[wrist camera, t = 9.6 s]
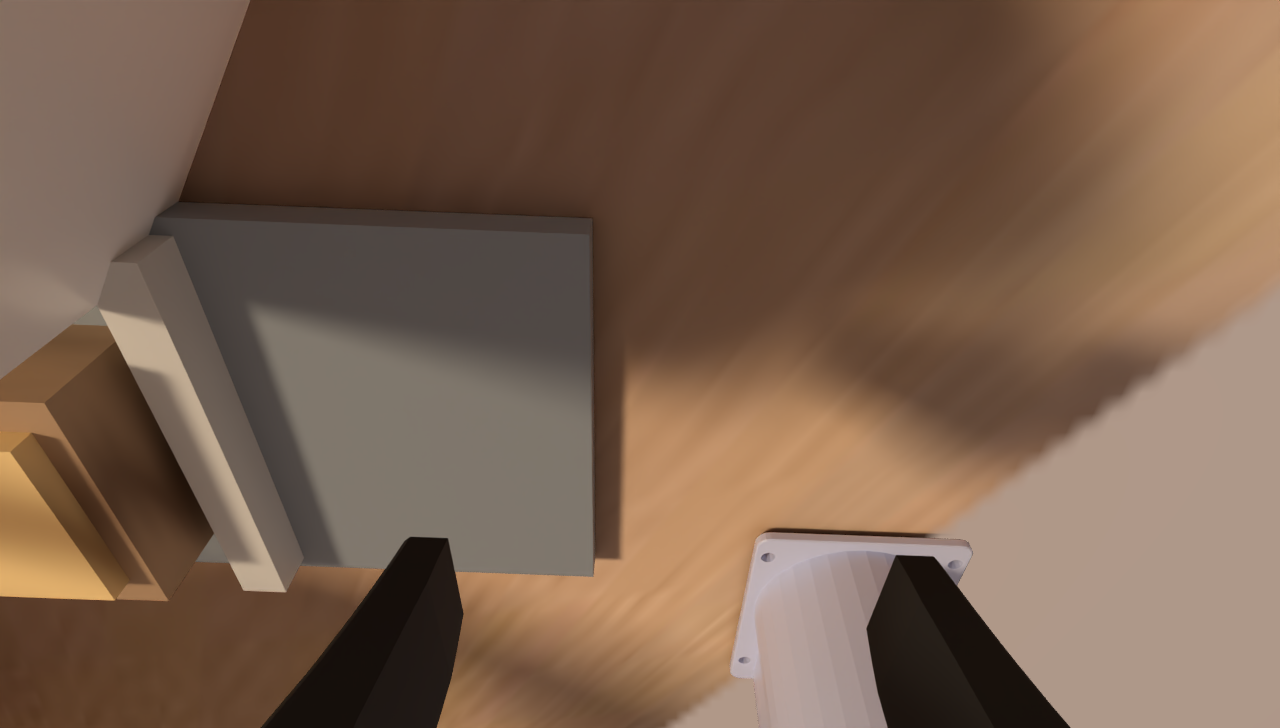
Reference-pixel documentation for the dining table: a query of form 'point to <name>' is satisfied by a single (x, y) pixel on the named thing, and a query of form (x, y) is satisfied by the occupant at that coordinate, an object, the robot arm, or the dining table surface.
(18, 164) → the gable box
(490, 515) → the board
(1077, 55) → the dining table surface
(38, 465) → the wooden box
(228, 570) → the dining table surface
